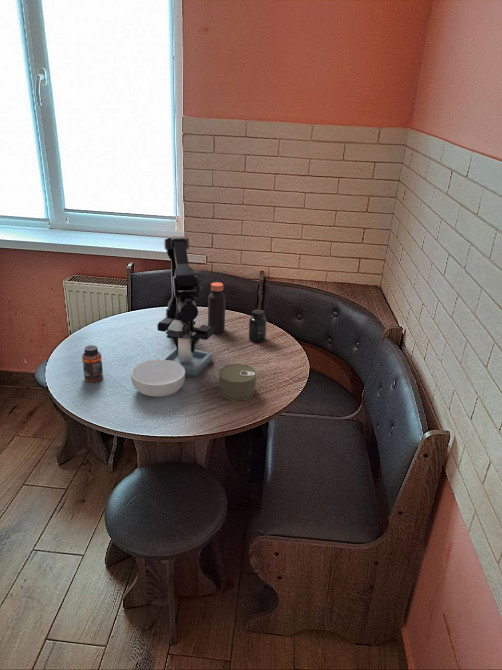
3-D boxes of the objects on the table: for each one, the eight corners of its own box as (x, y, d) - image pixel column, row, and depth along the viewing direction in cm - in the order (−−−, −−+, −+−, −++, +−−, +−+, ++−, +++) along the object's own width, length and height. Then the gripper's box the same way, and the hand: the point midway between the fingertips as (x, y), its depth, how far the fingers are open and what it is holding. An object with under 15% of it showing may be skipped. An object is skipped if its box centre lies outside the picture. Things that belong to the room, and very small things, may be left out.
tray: (158, 369, 171) (157, 361, 170) (177, 353, 183) (176, 345, 182) (195, 377, 167) (195, 370, 166) (211, 360, 179) (212, 353, 178)
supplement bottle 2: (266, 336, 200) (267, 309, 195) (264, 343, 194) (266, 315, 189) (249, 335, 200) (250, 307, 196) (247, 342, 194) (248, 314, 189)
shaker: (175, 360, 172) (174, 334, 168) (182, 354, 177) (181, 328, 173) (188, 363, 171) (188, 336, 167) (195, 357, 175) (195, 331, 171)
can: (219, 381, 166) (220, 362, 163) (255, 382, 166) (256, 364, 163) (216, 400, 155) (217, 381, 152) (255, 402, 155) (256, 383, 152)
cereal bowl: (161, 410, 148) (160, 390, 145) (120, 393, 156) (119, 373, 153) (196, 387, 161) (196, 368, 158) (157, 372, 169) (156, 354, 166)
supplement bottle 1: (107, 376, 165) (104, 345, 160) (96, 384, 160) (93, 353, 155) (91, 372, 167) (88, 342, 162) (80, 380, 162) (77, 349, 157)
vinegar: (205, 332, 201) (205, 285, 193) (211, 326, 207) (212, 280, 199) (221, 335, 199) (222, 287, 191) (226, 328, 205) (228, 282, 197)
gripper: (148, 312, 162) (150, 355, 168) (200, 322, 157) (200, 366, 163) (164, 301, 172) (165, 342, 178) (214, 310, 166) (213, 352, 173)
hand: (185, 350), depth 173 cm, fingers open, 5 cm apart
